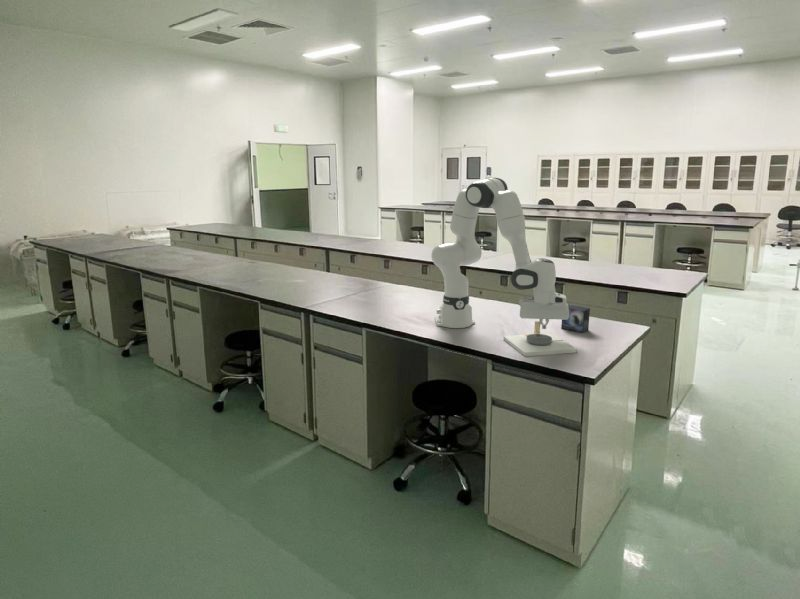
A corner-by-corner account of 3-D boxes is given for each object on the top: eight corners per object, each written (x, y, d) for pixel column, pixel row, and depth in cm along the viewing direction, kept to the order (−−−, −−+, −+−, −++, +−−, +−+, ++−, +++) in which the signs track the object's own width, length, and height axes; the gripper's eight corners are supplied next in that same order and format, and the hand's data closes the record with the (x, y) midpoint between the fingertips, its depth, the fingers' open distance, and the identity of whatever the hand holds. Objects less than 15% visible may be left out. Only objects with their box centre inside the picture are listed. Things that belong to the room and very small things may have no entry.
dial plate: (503, 339, 223) (503, 336, 222) (551, 336, 227) (551, 332, 226) (524, 356, 202) (525, 352, 201) (577, 352, 205) (577, 348, 205)
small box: (560, 328, 237) (561, 306, 235) (567, 325, 242) (568, 304, 239) (582, 333, 230) (583, 310, 228) (589, 330, 234) (590, 307, 232)
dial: (552, 345, 208) (553, 331, 207) (527, 344, 210) (527, 330, 208) (548, 334, 223) (549, 321, 222) (524, 333, 225) (525, 320, 223)
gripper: (518, 298, 218) (518, 329, 221) (569, 299, 212) (568, 331, 215) (519, 295, 224) (519, 326, 227) (569, 295, 218) (568, 327, 221)
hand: (544, 328), depth 221 cm, fingers closed
